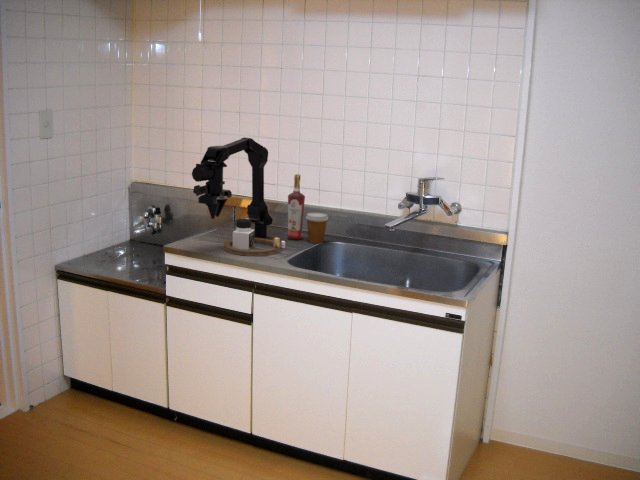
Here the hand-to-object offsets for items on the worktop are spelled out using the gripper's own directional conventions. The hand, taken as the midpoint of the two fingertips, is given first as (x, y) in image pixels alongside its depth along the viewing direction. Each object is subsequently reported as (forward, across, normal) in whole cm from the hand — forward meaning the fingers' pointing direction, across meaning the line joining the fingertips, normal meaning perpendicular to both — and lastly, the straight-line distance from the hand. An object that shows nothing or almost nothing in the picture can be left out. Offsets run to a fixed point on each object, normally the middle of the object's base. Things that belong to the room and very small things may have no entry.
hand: (215, 217), depth 289 cm
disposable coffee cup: (+13, -31, +33) cm, 47 cm away
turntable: (+13, -8, +13) cm, 20 cm away
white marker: (+13, -16, +24) cm, 31 cm away
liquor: (+13, -32, +23) cm, 42 cm away
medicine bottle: (+13, -8, +9) cm, 18 cm away
